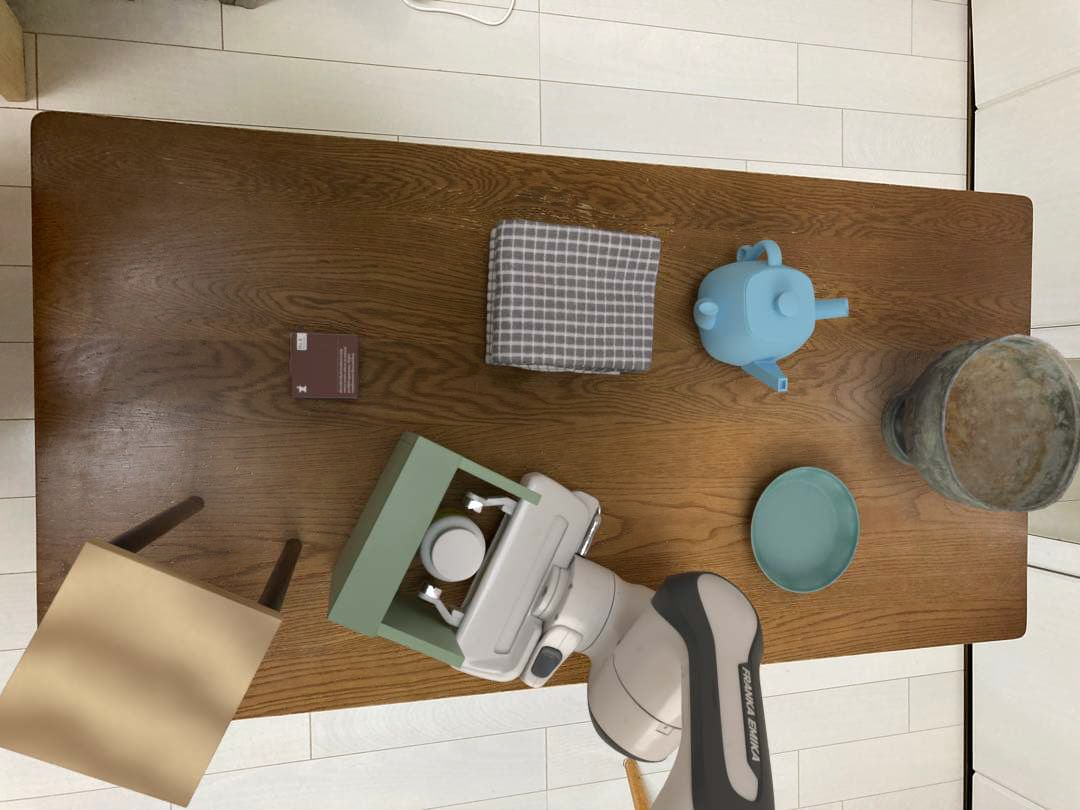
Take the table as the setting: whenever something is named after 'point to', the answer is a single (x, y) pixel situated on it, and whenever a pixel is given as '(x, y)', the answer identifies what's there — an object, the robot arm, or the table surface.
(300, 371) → the box
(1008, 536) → the table surface
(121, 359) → the table surface
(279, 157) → the table surface
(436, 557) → the pill bottle
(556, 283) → the towel
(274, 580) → the stand legs
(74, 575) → the stand
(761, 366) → the teapot
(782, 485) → the saucer
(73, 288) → the table surface
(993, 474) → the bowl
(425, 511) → the cubby
